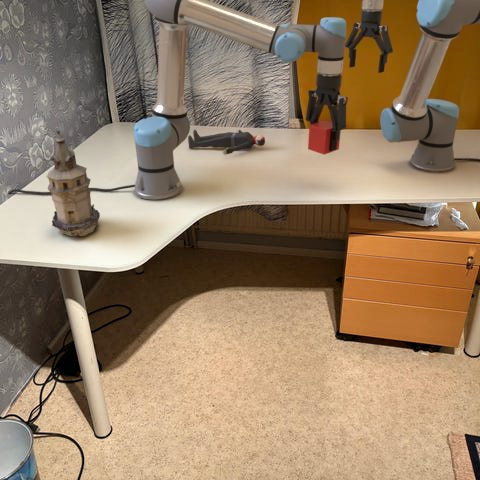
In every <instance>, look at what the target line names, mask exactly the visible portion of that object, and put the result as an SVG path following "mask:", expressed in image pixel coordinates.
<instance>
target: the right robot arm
mask: <svg viewBox="0 0 480 480" xmlns="http://www.w3.org/2000/svg"><path fill="white" fill-rule="evenodd" d="M384 1H385V0H362V1H361V9H362V10H361V12H360V21H361V22H360V21H359V22H354V23H353V27H352V30H351V31H350V34H349V36H348V37H347V40H346V41H345V48H347V49H348V59H349V65H348V68H350V69H351V68H355V67H356V59H357V58H356V57H357V49H356V48H357V46H358V45H359V44H360V43H361V41H362V40H363V39H364V38H367V37H368V38H372V39H373V40H374V41H375V43H376V45H377V47H378V49H379V51H380V52H381V54H380V55H379V60H378V70H377V73H379V74H381V73H385V66H386V64H387V63H388V56H389V54H393V52H394V48H393V45H392V42H391V38H390V35H389V26H388V25H382V24H381V22H382V19H383V9H384ZM416 10H417V12H416V20H417V22H418V24H419V30H420V31H421V32H422V33H421V35H420V38H419V41H418V44H417V46H416V49H415V52H414V55H413V57H412V60H411V63H410V67H409V69H408V72H407V75H406V77H405V80H404V83H403V85H402V89H401V91H400V94H399V96H397V97H395V98H394V99H393V101H392V104H391V105H390V107H386V108H384V109H382V111H381V113H380V120H379V121H380V129H381V132H382V135H383V137H384V139H385V140H386V141H387V142H388V143H403V142H412V141H418V143H417V145H416V147H415V150H414V151H413V154H412V155H411V157H410V162H409V164H410V166H411V167H413V168H414V169H416V170H418V171H422V172H426V173H433V174H435V173H436V174H440V173H448V172H451V171H453V170H454V169H455V164H456V161H471V162H480V158H470V157H455V155H454V153H455V152H454V141H455V137H456V131H457V126H458V121H459V119H460V117H459V115H460V108H459V105H457V104H456V103H455V102H452V101H448V100H445V99H444V100H443V99H437V98H429V96H430V94H431V90H432V89H433V86H434V83H435V81H436V79H437V76H438V73H439V71H440V69H441V66H442V63H443V61H444V58H445V56H446V53H447V51H448V49H449V47H450V43H451V41H452V40H455V39H456V38H457V37H459V35H460V32H461V30H462V28H463V26H467V25H478V24H480V0H418V3H417V5H416ZM359 30H360V32H359Z"/></svg>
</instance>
